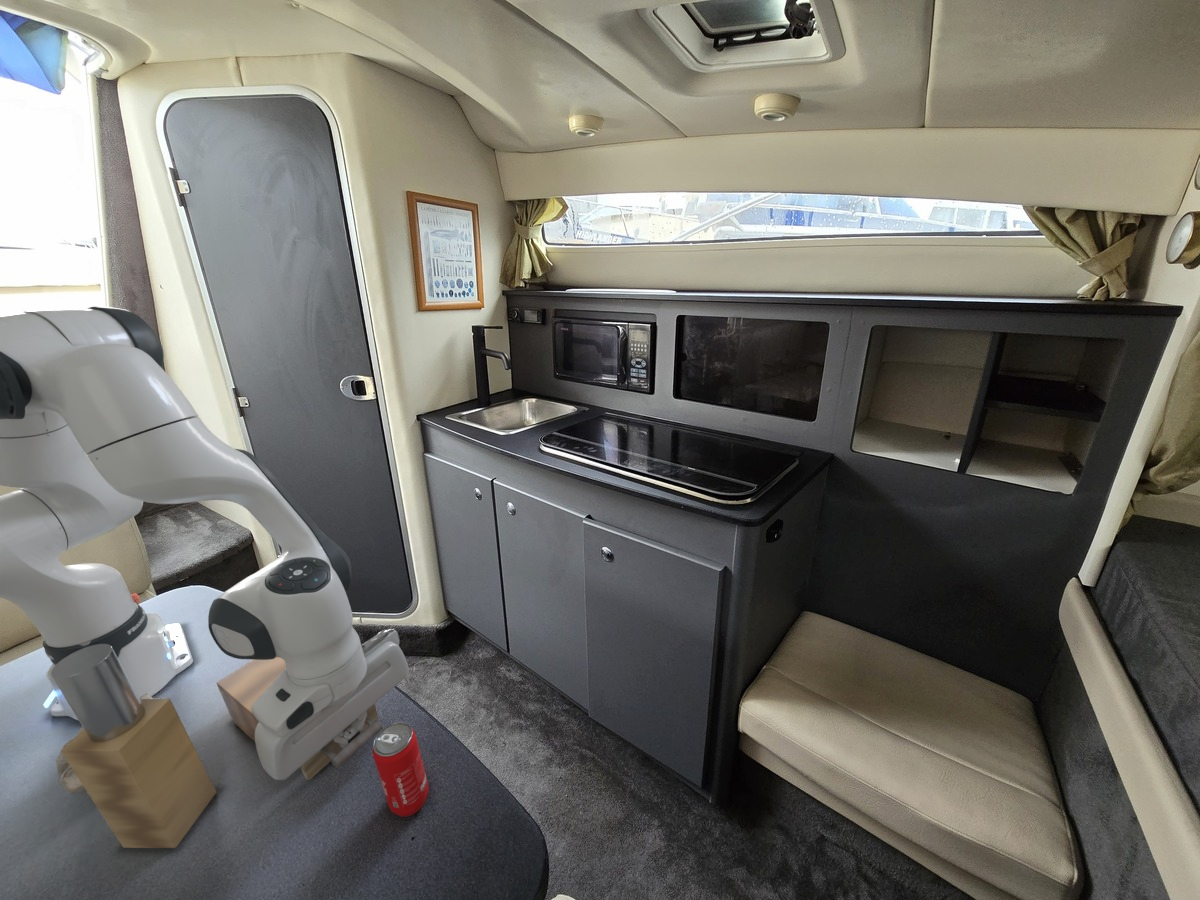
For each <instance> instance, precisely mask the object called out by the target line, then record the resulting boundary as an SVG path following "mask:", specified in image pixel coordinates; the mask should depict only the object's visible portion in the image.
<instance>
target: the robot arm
mask: <svg viewBox="0 0 1200 900" xmlns="http://www.w3.org/2000/svg"><path fill="white" fill-rule="evenodd" d="M164 358H165V354H164V348H163V345H162V342H161V340H160V337H159V336H158V335H157V332H156V331H155V330H154V328H153V327H152V326H151V325H150V324H149V323H148V322H147V321H146V320H145V319H143V318H142V317H141V316H139V315H138V314H137V313H135V312H133V311H131V310H128V309H124V308H120V307H119V308H118V307H110V306H90V307H87V308H56V309H54V308H53V309H37V310H25V311H22V312H19V313H13V314H4V315H0V486H3V487H7V488H16V489H14V490H13V491H11V492H7V493H4V494H1V495H0V598H2V599H4V600H7V601H9V602H11V603H12V604H13V605H15V606H17V607H18V608H19V609H20V610H22V612H23V613H24V614H25V615H26V616H27V617H28V619H29V620H30V621H31V623H32V624H33V625H34V627H35V629H36V630H37V631H38V633H39V634H40V637H42V639H43V640H42V647H43V649H44V653H45V655H46V657H47V658H48V659H49V660H50V661H51V663H52V664H51V665H50V666H49V668H48V670H47V671H46V673H45V675H46V678H47V680H48V683H49V685H50V687H51V689H52V692H51V693H50V694H49V696H48V697H47V699H46V700H45V702H44V703H43V707H44V708H45V709H47V708H49V707H50V705H51V704H52V702H53V700H54V699H55V698H56V701H54V703H53V705H52V706H51V707H50V710H49V711H50V714H51V716H52V717H69V718H72V719H73V720H76V721H79V720H78V718H77V717H76V715H75V714H74V712H73V710H72V709H71V707H70V705H69V704H68V702H67V700H66V699H65V697H64V695H63V694H62V692H61V690H60V689H59V687H58V686H57V684H56V682H55V681H54V679H53V677H52V676H51V671H52V669H53V668H54V666H55V665H56V664H57V663H59V662H60V661H61V660H62V659H64V658H65V657H67V656H69V655H70V654H72V653H74V652H76V651H78V650H81V649H83V648H86V647H89V646H93V645H97V644H108V645H110V646H112V648H113V650H114V652H115V654H116V656H117V658H118V660H119V661H120V663H121V665H122V667H123V669H124V671H125V673H126V675H127V677H128V678H129V680H130V682H131V684H132V686H133V688H134V690H135V692H136V694H137V695H138V697H139V698H140V697H141V696H143V695H145V694H149V695H150V696H151V697H153V696H154V695H156V694H157V693H158V692H160V691H161V690H162V689H163V688H165V686H166V685H167V684H169V683H170V682H171V681H172V679H173V678H175V677H176V676H177V675H178V674H180V673H181V672H183V671H184V670H186V669H187V668H189V667H190V666H191V665H193V662H194V659H193V655H192V653H191V649H190V647H189V643H188V641H187V638H186V634H185V632H184V629H183V627H182V625H181V623H168V624H165V623H164V621H163V620H162V617H161V616H160V614H158V613H155V612H146V611H145V609H144V608H143V607H142V606H140V596H139V594H138V593H137V592H134V593H131V592H130V590H129V588H128V586H127V584H126V581H125V579H124V578H123V576H122V574H121V572H120V571H119V570H118V569H116V568H114V567H112V566H110V565H108V564H105V563H97V562H96V563H94V562H90V563H89V562H88V563H87V562H85V563H76V564H70V565H69V564H68V565H64V564H63V563H62V562H61V559H60V555H61V554H64V553H65V552H68V551H69V550H72V549H74V548H77V547H78V546H80V545H84V544H85V543H87V542H89V541H92V540H95V539H96V538H98V537H102V536H103V535H105V534H109V533H110V532H113V531H114V530H115V529H117V528H119V527H120V526H122V525H123V524H125V523H127V522H128V521H129V520H131V519H132V518H133V517H135V516H137V515H138V514H139V513H141V511H142V509H143V505H144V503H150V504H157V505H177V504H178V505H179V504H189V503H199V502H205V501H206V502H207V501H226V502H231V503H234V504H237V505H239V506H242V507H243V508H244V509H246V510H247V511H248V512H249V513H250V514H251V516H253V518H254V519H255V520H256V521H257V522H258V523H259V524H260V525H261V527H263V529H264V530H265V531H266V532H267V533H268V534H269V535H270V537H272V538H273V540H274V541H275V542H276V543H277V544H278V545H279V546H280V548H281V552H280V555H279V556H278V557H277V558H276V559H274V560H273V561H271V562H269V563H268V564H266V565H264V566H263V567H262V568H260V569H258V570H257V571H255V572H254V573H251V574H250V575H249V576H246V577H245V578H243V579H242V580H240V581H239V582H237V583H236V584H234V585H233V586H231V587H230V588H228V589H227V590H225V591H223V592H222V593H221V594H220V595H219V596H218V597H216V598H215V599H214V600H213V601H212V603H211V605H210V607H209V611H208V619H207V625H208V630H209V633H210V635H211V637H212V639H213V641H214V643H215V644H216V646H217V647H218V648H219V650H221V652H222V653H223V654H225V655H226V656H228V657H231V658H233V659H238V660H270V659H274V658H275V657H280V658H282V659H283V660H284V661H285V665H286V668H285V669H284V671H283V672H282V673H281V674H280V675H279V677H278V678H277V679H276V680H275V681H274V682H273V683H272V684H271V685H270V686H269V688H268V689H267V690H266V691H265V692H264V693H263V694H262V695H261V696H260V697H259V698H258V699H257V700H256V701H255V702H254V703H253V705H252V707H251V710H252V713H253V715H254V716H255V717H256V719H257V720H258V721H259V723H258V724H257V727H256V730H255V741H254V742H255V748H256V752H257V755H258V760H259V763H260V764H261V766H262V768H263V770H264V771H265V772H266V774H267V775H268V776H270V777H271V778H272V779H273V780H275V781H284V780H287V779H288V778H289V777H290V776H292V774H294V773H295V772H296V771H297V770H298V769H300V768H301V766H302V765H303V764H304V763H305V762H307V761H308V760H309V759H310V758H311V757H312V756H314V755H315V754H316V753H317V752H318V751H320V750H321V749H322V748H323V747H324V746H325V745H327V744H328V743H329V742H330V741H331V740H333V741H334V742H337V743H339V745H340V747H341V748H342V749H343V748H344V747H345V746H346V745H347V744H349V743H350V742H351V741H352V740H353V739H354V738H355V737H357V736H358V735H359V734H360V733H361V732H362V731H363V726H364V723H365V720H366V717H367V710H368V709H369V708H370V707H371V706H373V705H374V704H375V705H376V703H378V702H379V701H380V700H381V699H382V698H383V697H384V696H386V695H387V694H388V693H389V692H391V691H392V690H393V689H394V688H395V687H396V686H397V685H399V684H400V683H401V682H402V681H403V680H405V679H406V677H407V675H408V673H409V664H408V660H407V658H406V656H405V654H404V651H403V650H402V649H401V646H400V636H399V633H398V631H397V630H396V629H395V628H389V629H386V628H385V629H382V630H381V631H379V632H378V633H377V634H376V635H375V636H373V637H371V638H369V639H368V640H366V641H365V642H364V643H362V642H361V639H360V636H359V634H358V632H357V631H356V629H354V626H353V618H354V617H353V611H352V608H351V604H350V601H349V598H348V595H347V591H348V590H349V588H350V585H351V579H352V564H351V560H350V558H349V556H348V554H347V553H346V552H345V550H344V549H343V548H342V547H340V546H339V545H338V544H337V543H336V542H335V541H334V540H332V538H330V537H329V536H328V535H327V534H326V533H324V532H323V531H322V530H321V529H320V527H319V526H318V525H317V524H316V523H315V522H314V521H313V519H312V518H311V517H310V516H309V515H308V513H307V512H306V511H305V510H304V509H303V507H302V506H300V505H301V504H299V502H297V501H296V499H295V498H294V497H293V496H292V495H291V494H290V492H289V491H288V490H287V489H286V488H285V486H284V485H283V484H282V483H281V482H280V481H279V480H278V478H277V477H276V476H275V474H273V473H272V471H270V469H269V468H267V467H266V466H265V464H264V463H263V462H262V461H261V460H260V459H259V458H257V457H256V456H255V455H254V454H252V453H251V452H249V451H248V450H245V449H242V448H241V449H239V448H234V447H232V446H231V445H229V444H227V443H226V442H224V441H223V440H221V439H220V438H219V437H218V436H216V435H215V434H214V433H213V432H212V431H211V430H210V429H209V427H207V425H206V424H205V423H204V422H203V421H202V419H201V417H200V416H199V414H198V413H197V411H196V410H195V408H194V406H193V405H192V403H191V402H190V401H189V400H188V398H187V397H186V395H185V394H184V393H183V391H182V390H181V389H180V388H179V386H178V385H177V384H176V382H175V381H174V380H173V378H171V377H170V375H169V374H168V373H167V372H166V371H165V370H164V369H163V364H164ZM351 723H352V724H351ZM350 724H351V726H350V727H349V728H348V729H347V730H346V731H345V732H343V730H344V729H345V728H347V727H348V726H349V725H350Z"/></svg>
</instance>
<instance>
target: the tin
mask: <svg viewBox="0 0 1200 900" xmlns="http://www.w3.org/2000/svg"><path fill="white" fill-rule="evenodd" d="M51 676H52V677H53V679H54V681H55V682H56V684H57V686H58V687H59V689H60V690H61V692H62V694H63V695H64V697H65V699H66V700H67V702H68V704H69V705H70V707H71V709H72V710H73V712H74V714H75V715H76V717H77V718H78V720H77V721H78V722H79V723H80V725H81V727H83V728H84V730H85V732H86V733H87V735H88V737H89V738H90V740H91V741H94V742H104V741H108V740H111V739H114V738H116V737H118V736H120V735H122V734H124V733H126V732H127V731H129V730H130V729H131V728H133V727H134V726H135V725H136V724H137V723H138V722H139V721H140V720H141V719H142V717H143V716H144V713H145V709H144V707H143V705H142V703H141V701H140V699H139V697H138V695H137V694H136V692H135V690H134V688H133V686H132V684H131V682H130V680H129V678H128V677H127V675H126V673H125V671H124V669H123V667H122V665H121V663H120V661H119V660H118V658H117V656H116V654H115V652H114V650H113V648H112V646H110V645H108V644H97V645H93V646H89V647H86V648H83V649H81V650H78V651H76V652H74V653H72V654H70V655H69V656H67V657H65V658H64V659H62V660H61V661H60V662H59V663H57V664H56V665H55V666H54V668H53V669H52V671H51Z"/></svg>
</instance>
